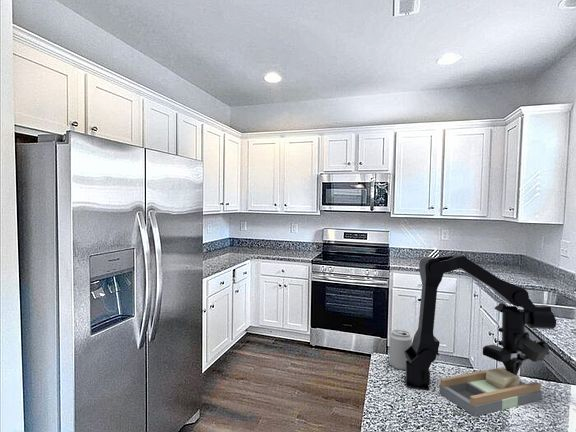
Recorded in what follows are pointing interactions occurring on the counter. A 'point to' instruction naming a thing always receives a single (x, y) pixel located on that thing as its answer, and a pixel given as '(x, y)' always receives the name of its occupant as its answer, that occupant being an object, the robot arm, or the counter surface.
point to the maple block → (502, 378)
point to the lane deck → (486, 393)
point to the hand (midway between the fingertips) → (512, 378)
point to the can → (399, 348)
